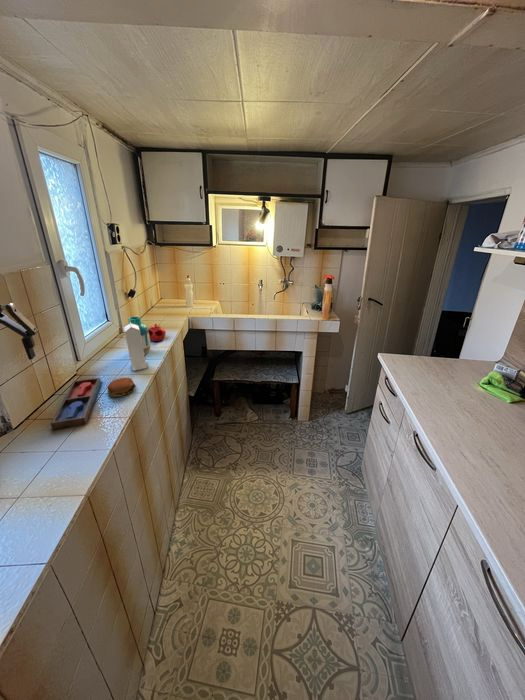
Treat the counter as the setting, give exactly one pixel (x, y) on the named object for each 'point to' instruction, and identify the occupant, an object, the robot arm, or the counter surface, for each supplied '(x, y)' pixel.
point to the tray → (72, 396)
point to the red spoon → (84, 388)
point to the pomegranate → (156, 333)
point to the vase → (142, 332)
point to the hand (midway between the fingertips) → (4, 361)
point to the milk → (135, 347)
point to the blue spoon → (74, 409)
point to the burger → (121, 387)
